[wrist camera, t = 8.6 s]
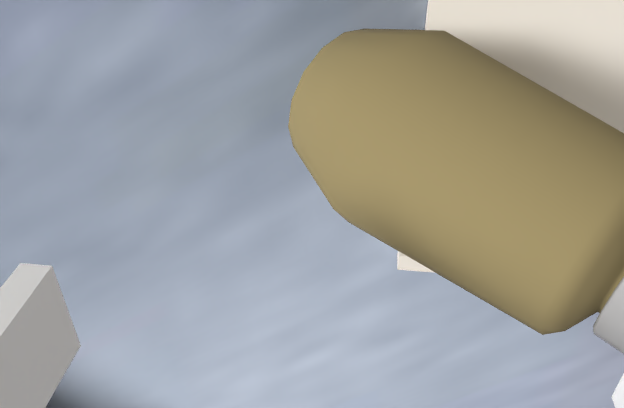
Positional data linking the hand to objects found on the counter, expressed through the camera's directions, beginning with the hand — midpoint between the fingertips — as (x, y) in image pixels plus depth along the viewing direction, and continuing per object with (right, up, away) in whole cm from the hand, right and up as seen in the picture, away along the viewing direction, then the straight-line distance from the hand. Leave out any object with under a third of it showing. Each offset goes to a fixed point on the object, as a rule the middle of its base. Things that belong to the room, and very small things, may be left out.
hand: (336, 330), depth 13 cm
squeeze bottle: (0, +7, +11) cm, 13 cm away
